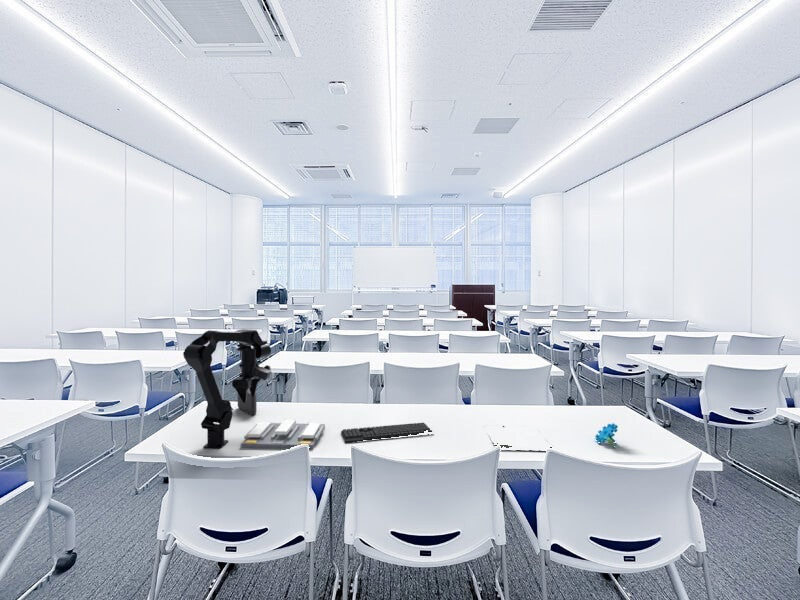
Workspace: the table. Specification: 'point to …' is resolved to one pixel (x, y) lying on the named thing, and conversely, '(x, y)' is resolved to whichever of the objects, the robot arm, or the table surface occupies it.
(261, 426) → the key
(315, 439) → the switch panel
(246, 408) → the leaning round-cornered charcoal block
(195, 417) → the table surface
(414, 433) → the keyboard
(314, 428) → the key
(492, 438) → the table surface
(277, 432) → the key middle
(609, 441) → the blue flower
